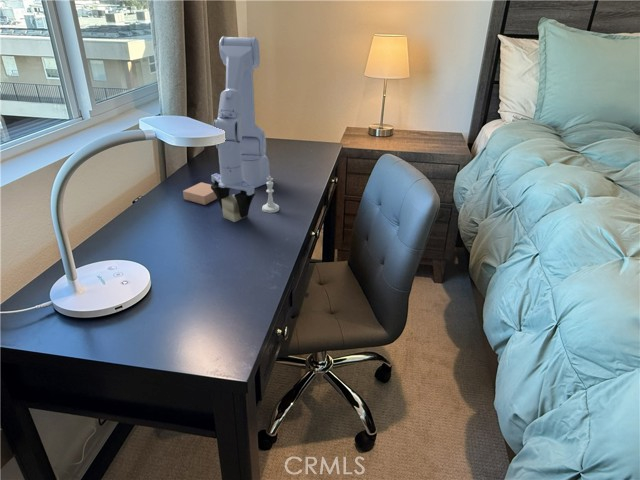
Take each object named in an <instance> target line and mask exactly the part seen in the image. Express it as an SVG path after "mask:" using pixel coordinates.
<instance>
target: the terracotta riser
mask: <svg viewBox="0 0 640 480" xmlns="http://www.w3.org/2000/svg"><path fill="white" fill-rule="evenodd" d="M212 185H213V184H211V183H205V182H202V181H201V182H199V183H197V184H195V185H192V186H191V187H187V188H186V189H184V190H182V193H183V194H182V195H183V199H184V200H185V201H189V202H193V203H197V204H201V205H204V206H206V205H207V204H209V203H211V202H213V201H215V200H218V199H217V196H216V195H215V193H214V191H213V190H212V189H211V186H212Z"/></svg>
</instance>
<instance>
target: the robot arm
mask: <svg viewBox="0 0 640 480" xmlns="http://www.w3.org/2000/svg"><path fill="white" fill-rule="evenodd" d="M218 44H219V45H218V49H219V56H220V60H222V63H223V65H224V66H225V90H222V91H221V93H220V94H219V96H220V97H219V104H218V110H217V111H218V113H217V119H214V120H213V123H212V127H213V126H214V127H216V128H219V129H222V130H224V131H225V138H226V140H225V142H224V143H222V144H219V145H216V144H215V147H216V149H217V151H218V163H219V173H214V174H210V175H211V182H212V183H213V184H211V185H212V186H211V189H212V190H213V191H214V193H215V195H216V196H217V199H216V200H217V201H218V203H219V206H220V209H221V210H222V200H221V199H223V198H226V197H228V196H230V189H234V190H237V191H238V193H236V194H235V193H234V194H235V195H234V196H235V198H236V200H237V203H238V206H239V212H240V216H241V217H242V218H243V217H245V218H247V217H248V216H249V210H250V207H251V203H252V201H253V199H254V198H255V195H256V191H255V189H256V188H259V187H261V186H264V185H266V183H267V182H269V180H267V178H269V176H271V174H270V173H271V172H270V162H269V158H268V156H267V155H266V154H267V139H266V133H265V130H264V129H262V128H261V127H260V126H258V125H257V124H256V111H255V110H256V109H255V91H254V71H255V69H257V68H259V67H260V63H261V61H260V60H261V59H260V58H261V57H260V43H259V40H258V39H257V37H256V36H253V37H240V36H239V37H238V36H236V37H235V36H233V37H232V36H224V35H223V36H221V38H220V39H219V43H218ZM271 182H273V180H271ZM246 216H247V217H246ZM243 219H244V218H243Z"/></svg>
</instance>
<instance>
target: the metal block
mask: <svg viewBox="0 0 640 480" xmlns="http://www.w3.org/2000/svg"><path fill="white" fill-rule="evenodd" d="M234 195H235V193H234V194H231V195H229V196H228V197H226V198H223V199H221V200H222V209H221V210H222V218H224V219H226V220H229V221H231V222H233V223H236V222H239V221H240V220H242V219H245V218H247V217H248V216H246V217H243V218H242V217H241V216H240V212H239V206H238V203H237V200H236V198H235V196H234Z"/></svg>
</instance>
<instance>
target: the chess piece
mask: <svg viewBox="0 0 640 480" xmlns="http://www.w3.org/2000/svg"><path fill="white" fill-rule="evenodd" d="M267 180H269V182H267V183H266V184H265V185H266V186H267V189H266V191H265V192H266V193H268V195H267V202H266V204H265V203H264V204H263V205H262V206H261V207H262V208H261V210H262V212H264V213H267V214H268V213H269V214H273V213H277V212H279V211H280V206H279V205H278V204H277V203H275V202H274V198H273V193H274V192H275V190H274V189H273V187H274V182H273V180H274V178H273V177H271V175H270V176H269V178H267ZM271 180H272V181H271Z"/></svg>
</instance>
